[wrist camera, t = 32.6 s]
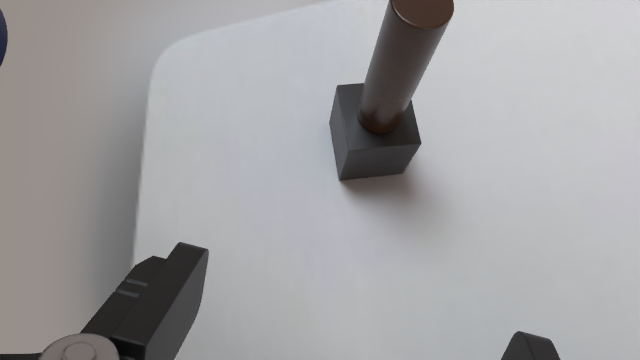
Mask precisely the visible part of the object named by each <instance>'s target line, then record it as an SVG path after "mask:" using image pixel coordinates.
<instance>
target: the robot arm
mask: <svg viewBox="0 0 640 360" xmlns="http://www.w3.org/2000/svg"><path fill="white" fill-rule="evenodd" d="M208 255H209V251H208V249H205V248H201V247H197V246H194V245H190V244H186V243H182V242H179V243H178V244H177V245H176V247H175V248H174V249H173V251H172V252H171V253H170V255H169V256H168V257H167V259H164V258H160V257H156V256H152V257H150V258H148V259H146V260H144V261H143V262H141V263H139V264H137V265H135V267H134V268H133V269H132V270H131V272H130V273H129V274H128V276H126V278H125V280H124V281H122V283H121V284H120V285H119V286H118V287H117V289H116V291H115V292H113V293H112V295H111V296H110V297H109V298H108V299H107V301H106V302H105V303H104V304H103V305H102V307H101V308H100V309H99V310H98V312H97V313H96V314H95V315H94V316H93V318H92V319H91V320H90V321H89V322H88V324H87V325H86V326H85V327H84V329H83V330H82V331H81V332H80V333H79V334H74V335H69V336H66V337H63V338H61V339H59V340H57V341H55V342H53V343H52V344H50V345H49V346H48V347H47V348H46V349H45V350H44V351H43V352H42V353H35V354H0V360H174V358H175V357H176V355H177V353H178V351H179V349H180V347H181V345H182V343H183V341H184V340H185V338H186V336H187V334H188V332H189V330H190V328H191V326H192V324H193V322H194V320H195V318H196V316H197V313H198V310H199V307H200V303H201V299H202V293H203V287H204V281H205V275H206V268H207V262H208ZM501 360H560V358H559V356H558V353H557V351H556V349H555V347H554V345H553V343H552V341H551V340H550V339H548V338H544V337H540V336H536V335H532V334H528V333H524V332H521V331H518V332H516V333H515V334H514V335H513V337H512V339H511V341H510V343H509V345H508V347H507V349H506V351H505V353H504V355H503V357H502V359H501Z"/></svg>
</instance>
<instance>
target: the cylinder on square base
mask: <svg viewBox="0 0 640 360" xmlns="http://www.w3.org/2000/svg"><path fill="white" fill-rule="evenodd" d="M453 12H454V3H453V0H389V3H388V6H387V9H386V13H385V16H384V19H383V23H382V26H381V29H380V33H379V36H378V39H377V43H376V46H375V49H374V53H373V56H372V59H371V63H370V66H369V69H368V73H367V76H366V79H365V83H361V84H349V85H338V86H337V88H336V93H335V98H334V103H333V107H332V112H331V117H330V122H329V123H330V129H331V135H332V141H333V147H334V153H335V159H336V165H337V171H338V177H339V180H347V179H356V178H366V177H375V176H384V175H393V174H402V173H403V171H404V170H405V168H406V167H407V165H408V164H409V162H410V161H411V159H412V157H413V156H414V154H415V153H416V151H417V150H418V148H419V146H420V145H421V140H420V136H419V131H418V127H417V123H416V118H415V114H414V110H413V105H412V101H411V98H412V96H413V94H414V92H415V90H416V88H417V86H418V84H419V82H420V80H421V78H422V76H423V74H424V72H425V70H426V68H427V66H428V64H429V62H430V60H431V58H432V56H433V54H434V52H435V50H436V48H437V46H438V44H439V42H440V40H441V38H442V36H443V34H444V32H445V29H446V27H447V25H448V23H449V21H450V19H451V17H452V15H453Z"/></svg>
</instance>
